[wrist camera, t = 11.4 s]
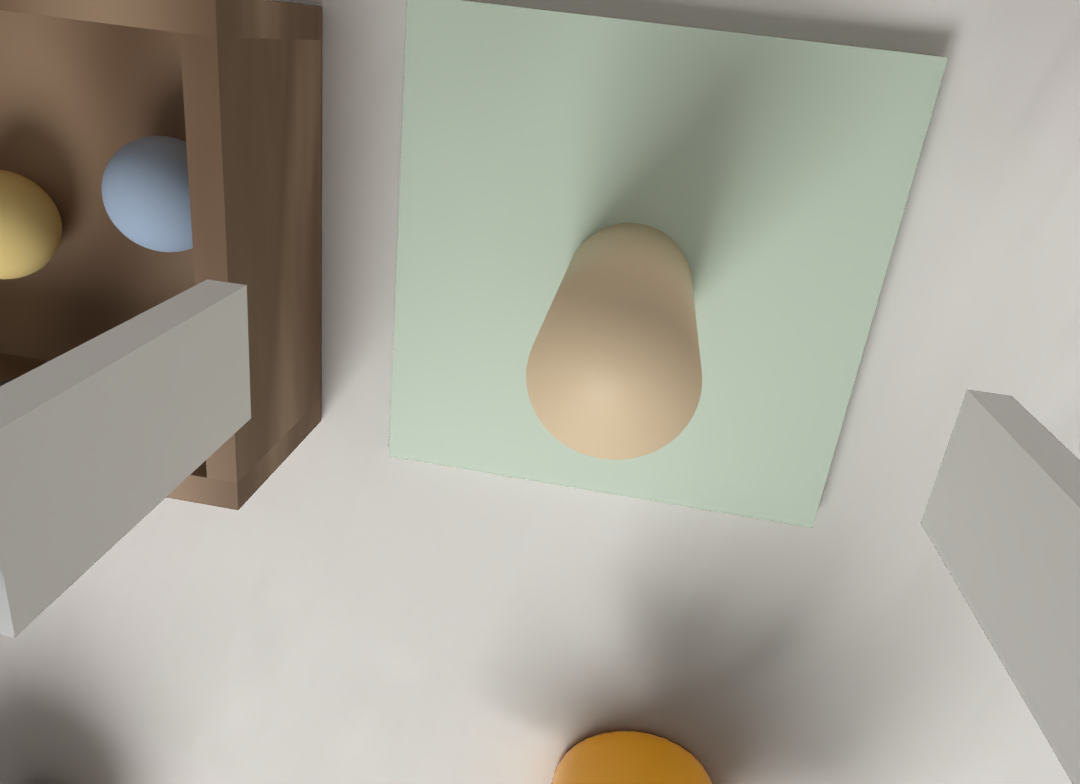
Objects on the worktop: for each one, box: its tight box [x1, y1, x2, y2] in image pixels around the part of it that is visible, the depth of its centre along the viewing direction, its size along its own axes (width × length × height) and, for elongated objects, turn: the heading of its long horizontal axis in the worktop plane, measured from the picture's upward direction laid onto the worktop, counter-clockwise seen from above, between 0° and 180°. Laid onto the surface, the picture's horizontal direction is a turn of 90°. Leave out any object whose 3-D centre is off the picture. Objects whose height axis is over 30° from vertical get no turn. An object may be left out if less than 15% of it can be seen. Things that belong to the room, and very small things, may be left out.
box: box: [0, 0, 322, 510], centre depth 22 cm, size 12×12×6 cm
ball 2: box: [102, 136, 193, 252], centre depth 22 cm, size 3×3×3 cm
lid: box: [389, 0, 948, 528], centre depth 19 cm, size 13×13×8 cm
